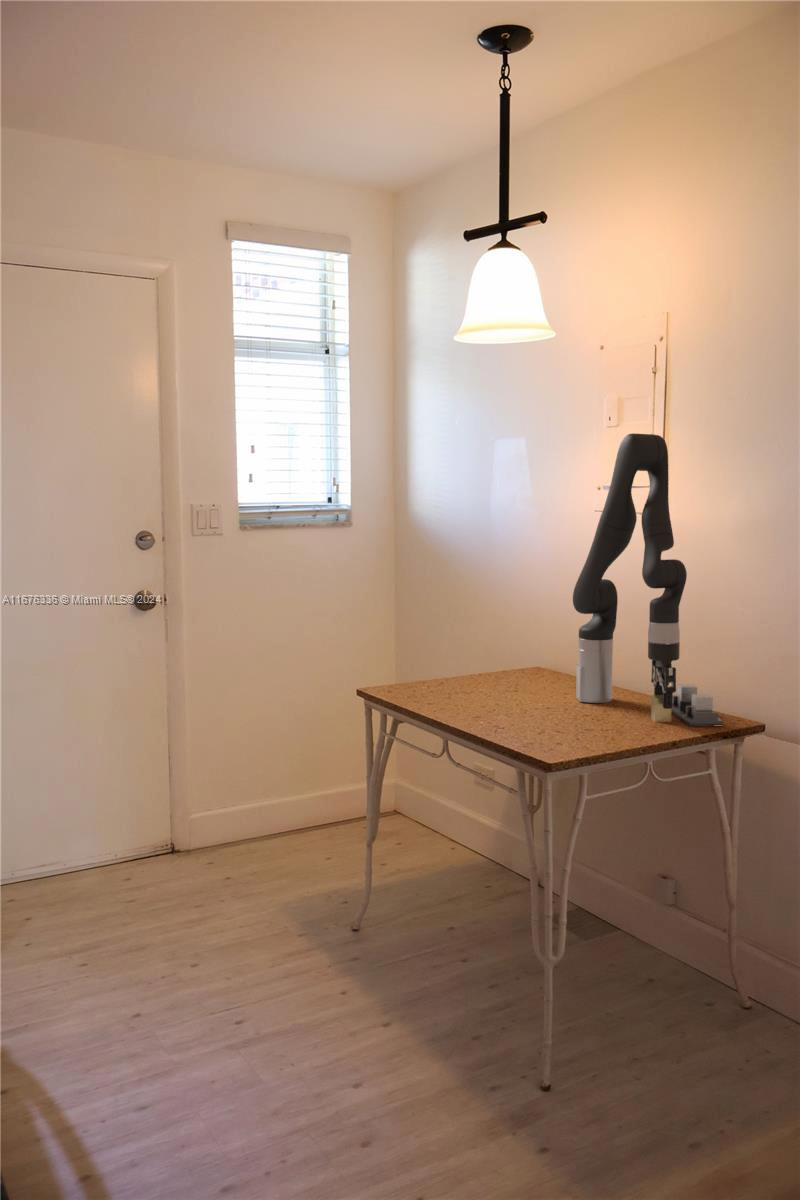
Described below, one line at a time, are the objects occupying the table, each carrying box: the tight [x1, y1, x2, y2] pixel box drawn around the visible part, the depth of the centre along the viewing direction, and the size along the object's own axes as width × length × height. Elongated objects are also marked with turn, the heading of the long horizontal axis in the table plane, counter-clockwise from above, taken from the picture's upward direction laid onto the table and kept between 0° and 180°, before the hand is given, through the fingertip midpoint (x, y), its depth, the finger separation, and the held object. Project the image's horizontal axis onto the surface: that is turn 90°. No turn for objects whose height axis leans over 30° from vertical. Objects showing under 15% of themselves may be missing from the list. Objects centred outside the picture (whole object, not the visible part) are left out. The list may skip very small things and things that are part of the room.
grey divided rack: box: [671, 683, 724, 728], centre depth 249 cm, size 8×21×7 cm, turn 179°
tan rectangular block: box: [650, 694, 672, 723], centre depth 246 cm, size 4×4×6 cm
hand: (663, 705), depth 246 cm, fingers open, 8 cm apart
